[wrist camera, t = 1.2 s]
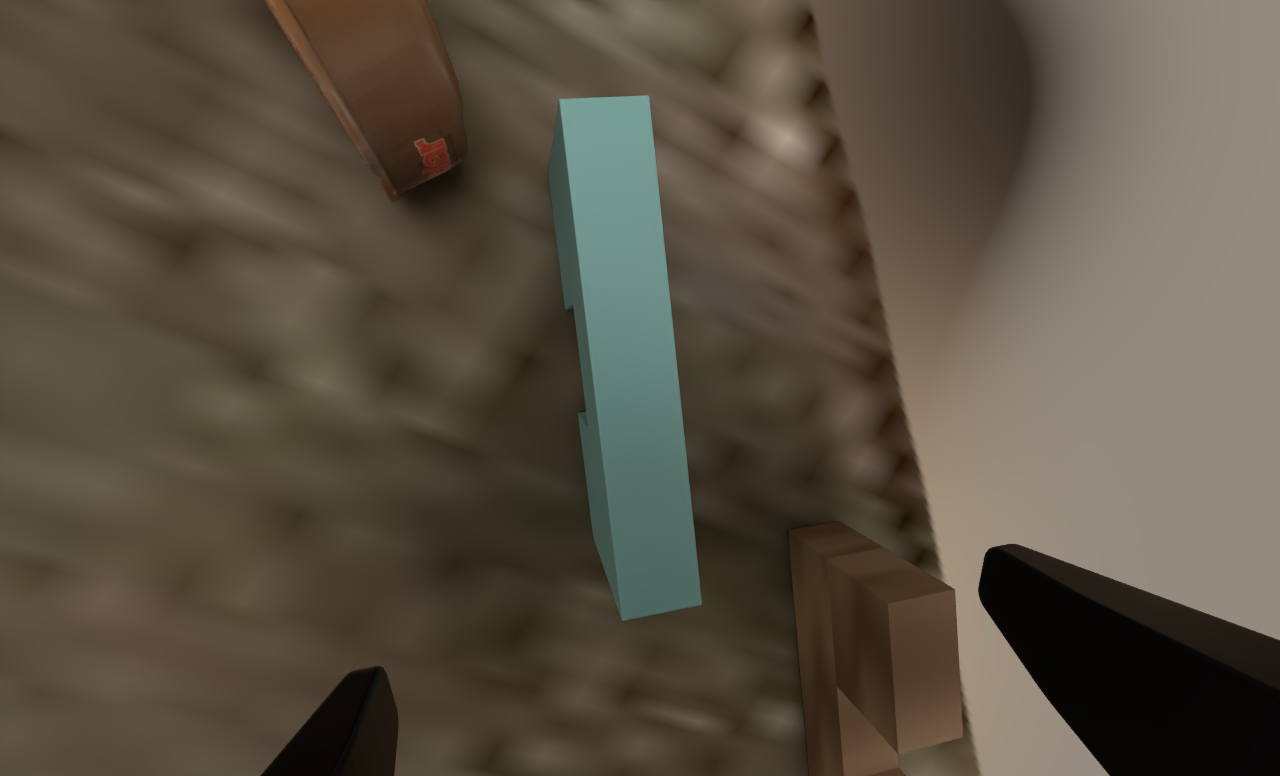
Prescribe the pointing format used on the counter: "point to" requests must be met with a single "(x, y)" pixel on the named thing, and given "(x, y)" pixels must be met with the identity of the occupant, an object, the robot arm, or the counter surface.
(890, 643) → the notched walnut block
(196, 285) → the counter surface
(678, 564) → the notched teal slat
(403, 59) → the tin
